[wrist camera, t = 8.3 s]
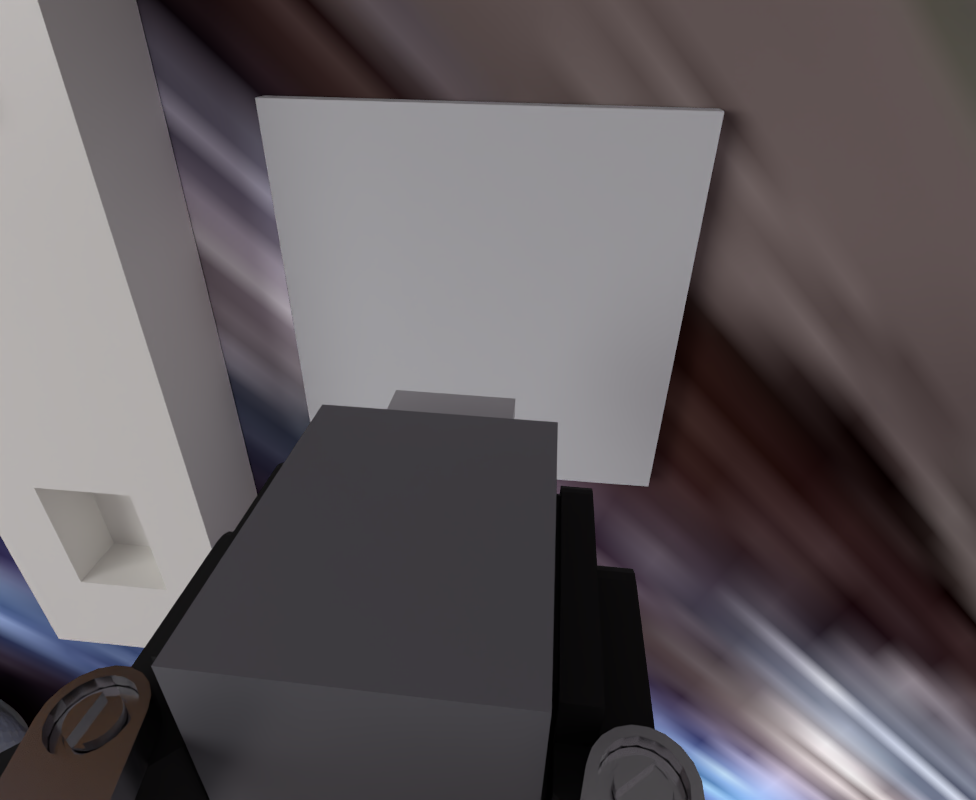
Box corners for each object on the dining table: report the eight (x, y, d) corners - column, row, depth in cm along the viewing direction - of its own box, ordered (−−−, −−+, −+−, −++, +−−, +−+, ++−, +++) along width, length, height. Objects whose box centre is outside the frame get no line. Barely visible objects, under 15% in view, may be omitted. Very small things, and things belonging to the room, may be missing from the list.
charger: (353, 356, 12) (151, 665, 6) (559, 370, 11) (551, 713, 6) (374, 542, 14) (246, 883, 9) (541, 558, 14) (525, 923, 8)
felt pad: (264, 95, 16) (254, 98, 16) (718, 108, 15) (724, 111, 15) (322, 451, 23) (316, 461, 22) (646, 475, 22) (648, 486, 21)
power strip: (-192, -96, 15) (-417, -132, 12) (112, -95, 14) (-29, -132, 11) (112, 573, 28) (48, 651, 24) (280, 589, 27) (239, 671, 24)
